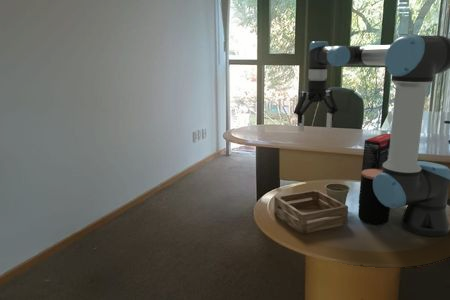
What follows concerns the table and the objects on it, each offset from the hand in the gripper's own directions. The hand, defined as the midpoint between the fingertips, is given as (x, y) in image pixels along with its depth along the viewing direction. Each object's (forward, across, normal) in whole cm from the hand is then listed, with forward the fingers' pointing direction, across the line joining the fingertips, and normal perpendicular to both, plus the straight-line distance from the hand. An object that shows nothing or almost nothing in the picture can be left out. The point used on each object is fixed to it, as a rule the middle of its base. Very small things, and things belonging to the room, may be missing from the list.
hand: (315, 129), depth 171 cm
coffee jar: (+28, -4, +36) cm, 46 cm away
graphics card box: (+28, -17, +22) cm, 39 cm away
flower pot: (+28, +2, +22) cm, 35 cm away
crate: (+28, +18, +27) cm, 43 cm away
